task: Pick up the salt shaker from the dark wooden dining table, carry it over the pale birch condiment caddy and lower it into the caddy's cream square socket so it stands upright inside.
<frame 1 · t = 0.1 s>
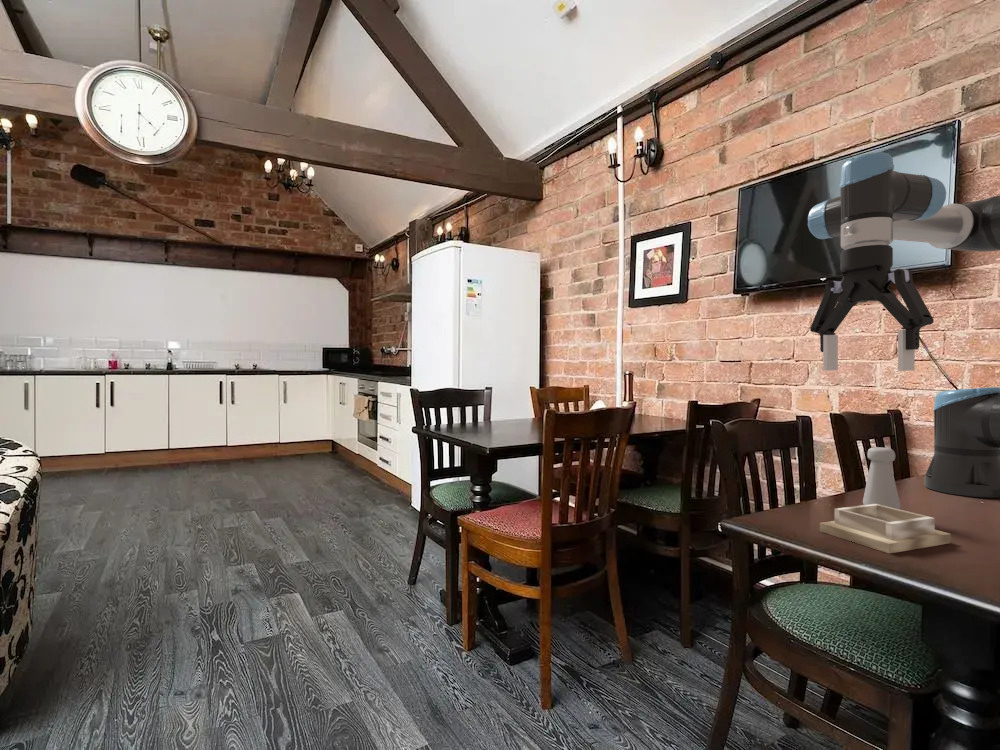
hand: (865, 370, 94), 28 cm above the table, fingers open, 13 cm apart
salt shaker: (881, 517, 103), on the table
caddy: (882, 537, 91), on the table
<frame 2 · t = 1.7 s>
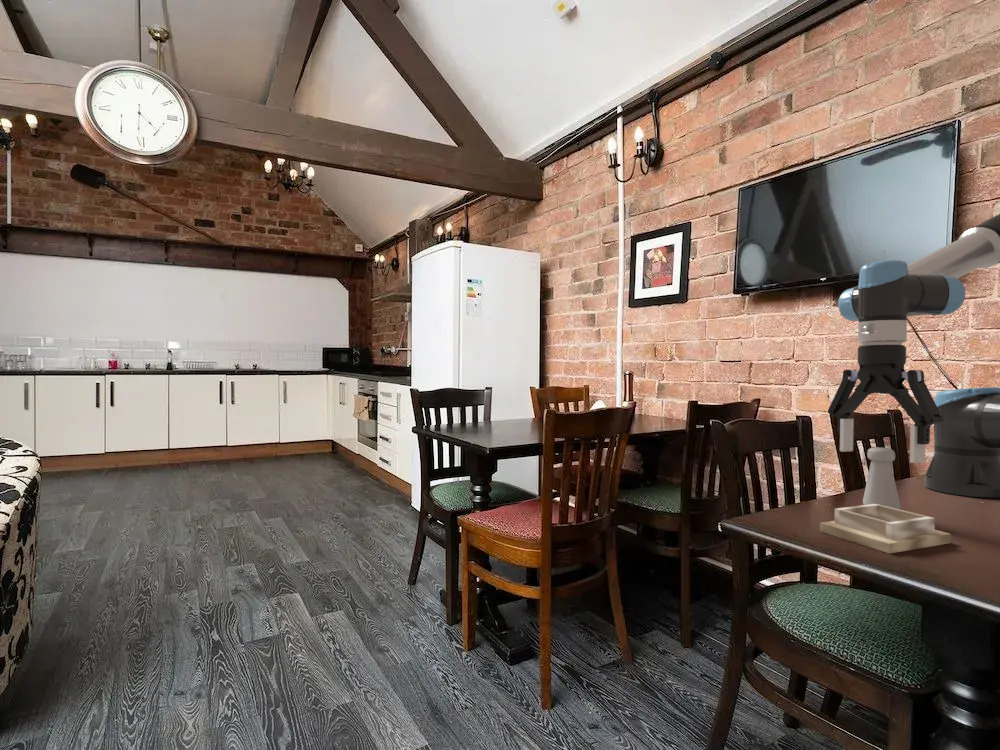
hand: (879, 456, 103), 11 cm above the table, fingers open, 13 cm apart
nothing on the table moved.
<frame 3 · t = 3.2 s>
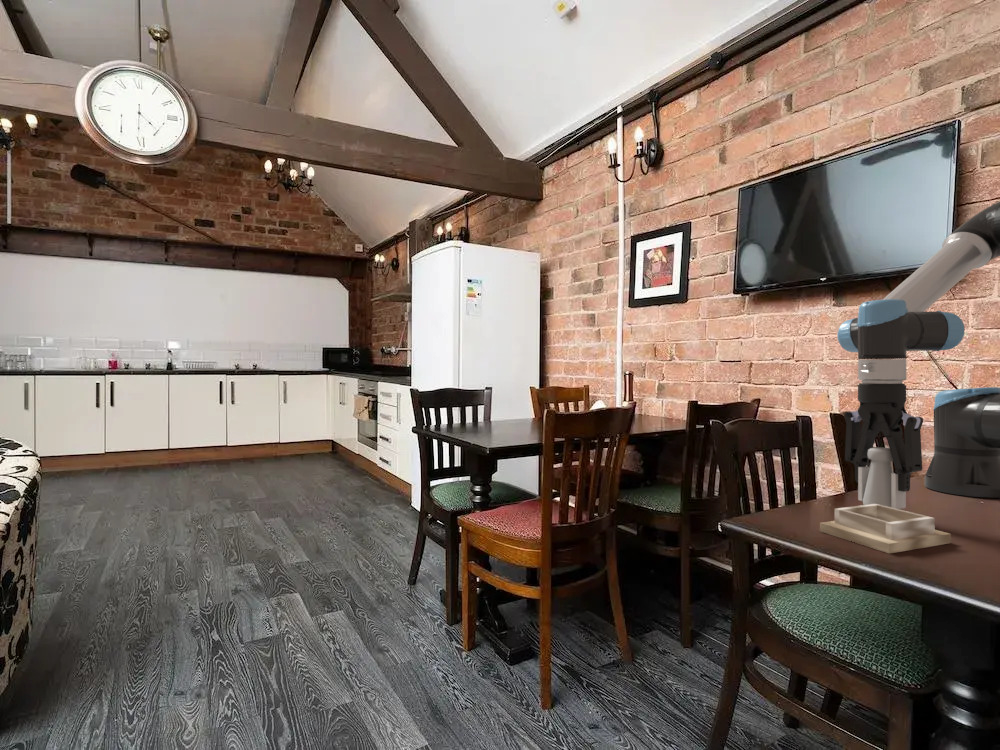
hand: (881, 503, 103), 2 cm above the table, fingers closed on salt shaker, 6 cm apart
salt shaker: (881, 517, 104), on the table, touching gripper
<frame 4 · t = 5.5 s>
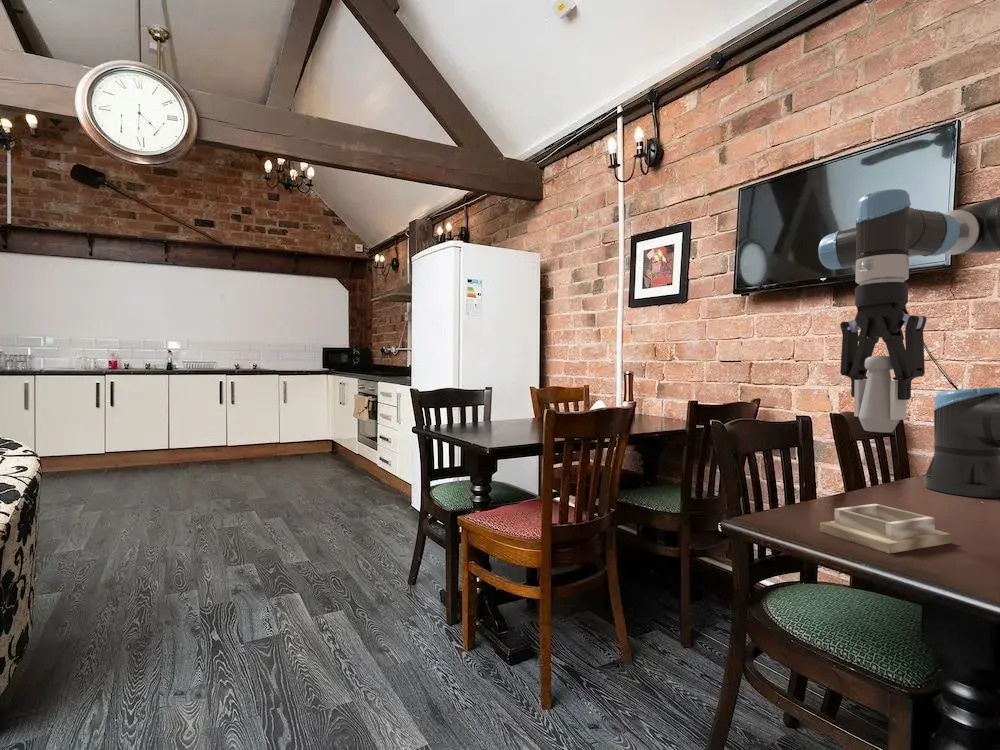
hand: (879, 417, 94), 20 cm above the table, fingers closed on salt shaker, 6 cm apart
salt shaker: (878, 432, 94), point 17 cm above the table, touching gripper
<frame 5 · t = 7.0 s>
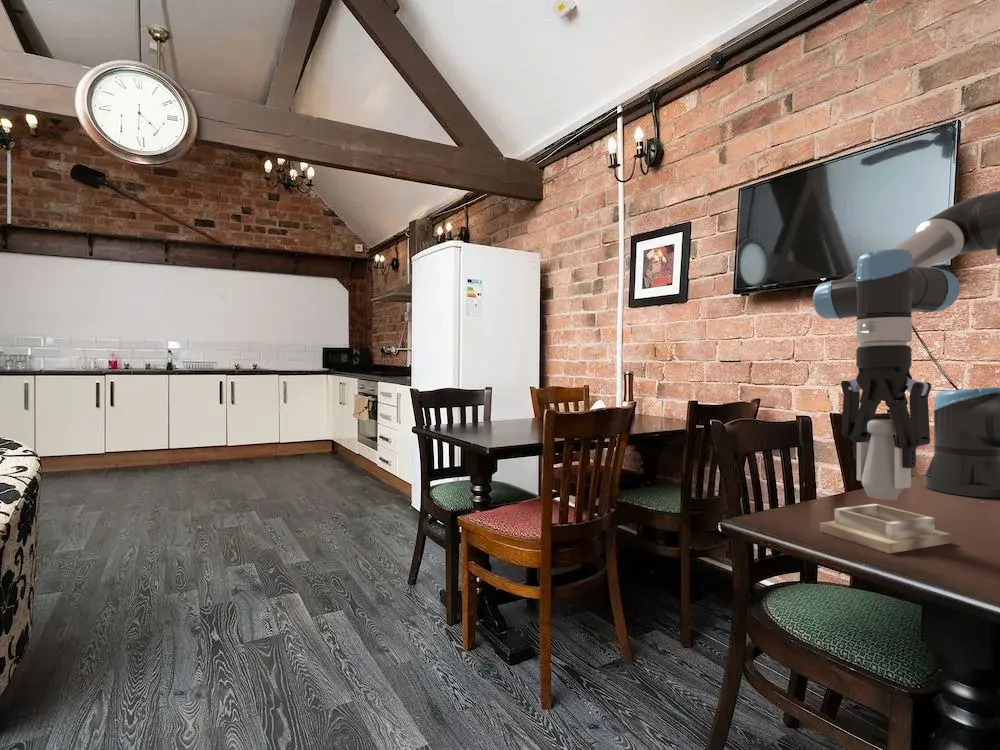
hand: (882, 483, 91), 9 cm above the table, fingers closed on salt shaker, 6 cm apart
salt shaker: (882, 498, 91), point 6 cm above the table, touching gripper
when the fingers open (6 cm above the table, at t = 7.9 s): salt shaker drops 2 cm, resting on caddy.
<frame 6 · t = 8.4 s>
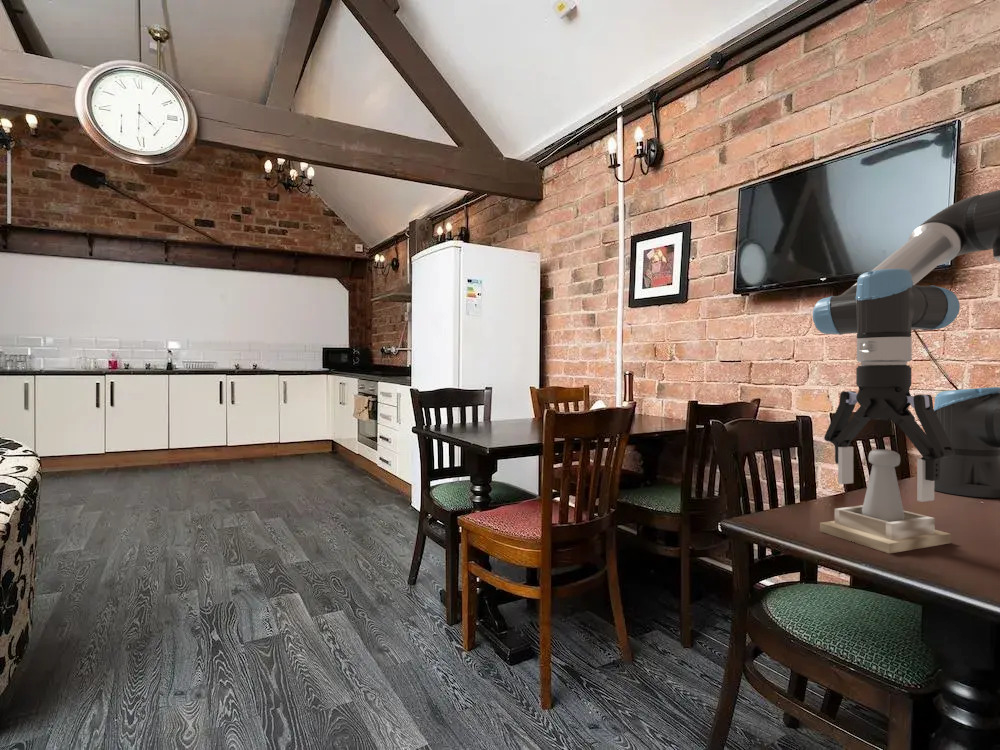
hand: (882, 491, 91), 8 cm above the table, fingers open, 13 cm apart
salt shaker: (882, 528, 91), point 1 cm above the table, touching caddy
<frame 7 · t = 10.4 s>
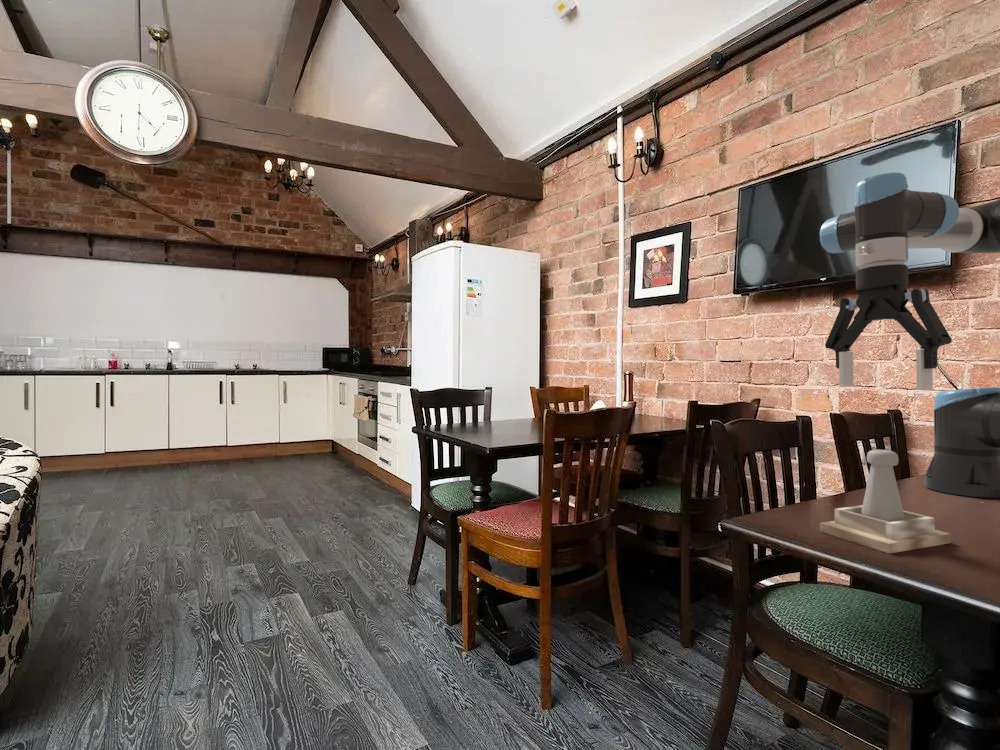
hand: (883, 387, 96), 25 cm above the table, fingers open, 13 cm apart
nothing on the table moved.
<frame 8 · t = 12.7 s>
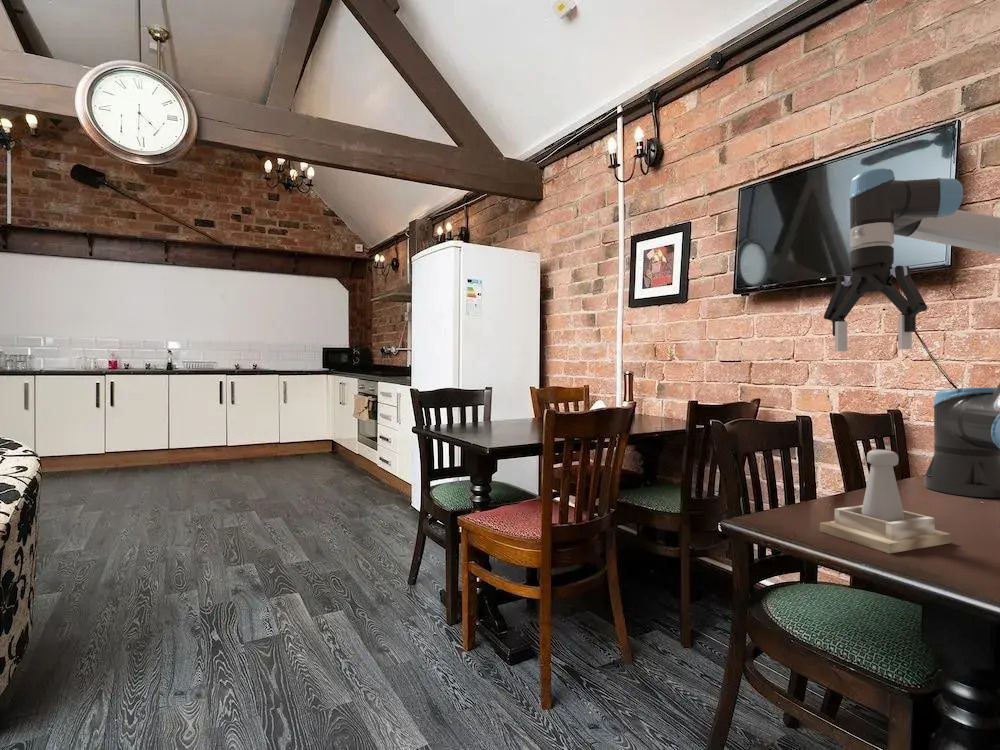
hand: (871, 350, 113), 32 cm above the table, fingers open, 13 cm apart
nothing on the table moved.
at the end: salt shaker 0.1 cm off-centre on the caddy, point 1.3 cm above the caddy's base; salt shaker tilted 0°; the gripper is holding nothing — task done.
